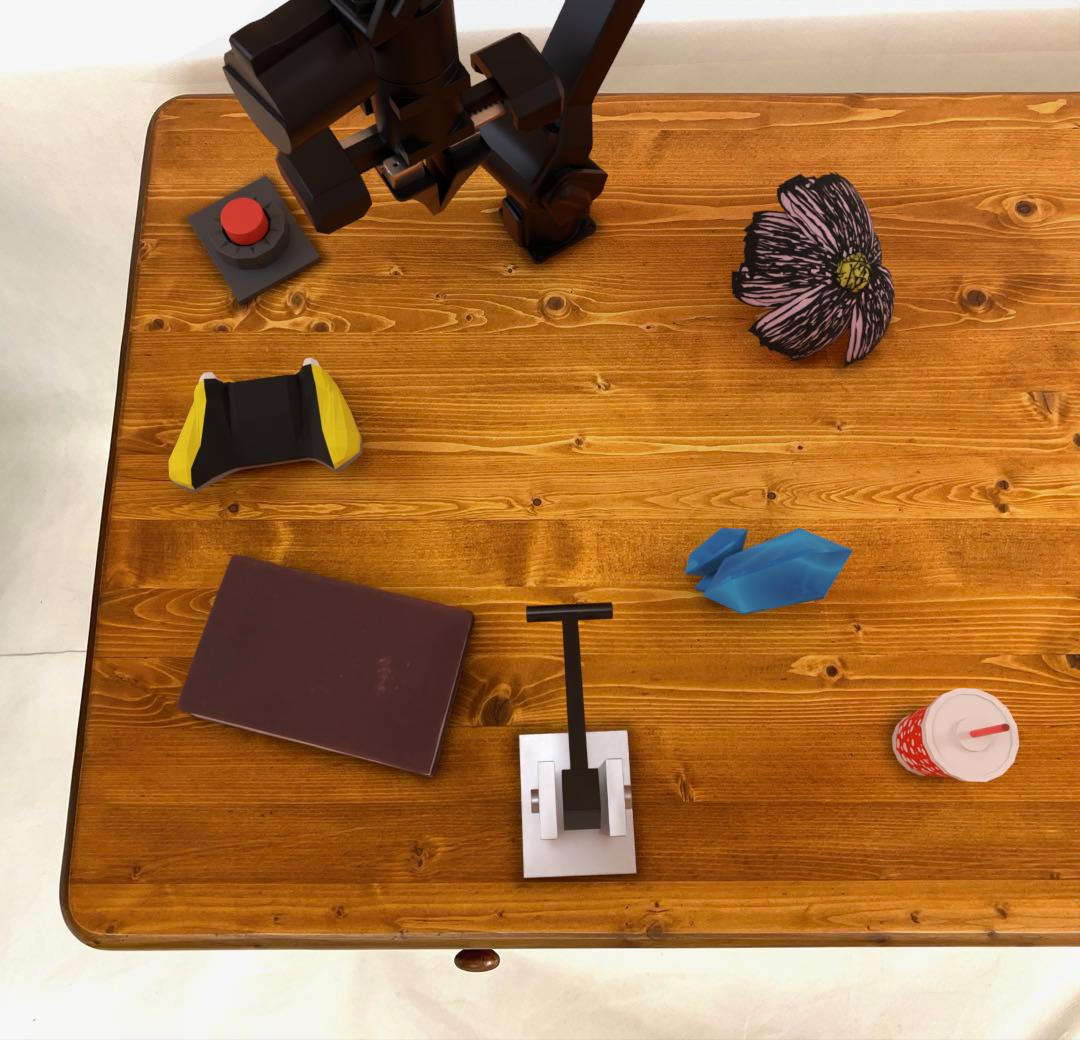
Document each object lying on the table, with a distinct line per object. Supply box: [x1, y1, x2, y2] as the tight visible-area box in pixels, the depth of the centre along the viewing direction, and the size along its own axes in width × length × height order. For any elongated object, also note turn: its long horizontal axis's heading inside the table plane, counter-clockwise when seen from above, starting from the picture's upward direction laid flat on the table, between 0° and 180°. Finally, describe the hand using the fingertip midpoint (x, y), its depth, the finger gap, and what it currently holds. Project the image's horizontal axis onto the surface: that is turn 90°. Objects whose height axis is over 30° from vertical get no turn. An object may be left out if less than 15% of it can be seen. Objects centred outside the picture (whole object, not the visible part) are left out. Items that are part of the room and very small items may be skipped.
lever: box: [525, 601, 614, 830], centre depth 63 cm, size 16×6×2 cm, turn 2°
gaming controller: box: [167, 357, 364, 493], centre depth 78 cm, size 15×6×10 cm
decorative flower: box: [731, 171, 895, 368], centre depth 79 cm, size 14×12×15 cm
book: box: [175, 553, 476, 778], centre depth 74 cm, size 12×19×3 cm, turn 76°
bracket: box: [518, 729, 637, 879], centre depth 64 cm, size 10×8×16 cm
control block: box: [186, 174, 322, 306], centre depth 85 cm, size 10×8×2 cm
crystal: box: [684, 527, 854, 616], centre depth 73 cm, size 7×9×12 cm
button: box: [221, 198, 268, 245], centre depth 83 cm, size 4×4×2 cm
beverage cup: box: [891, 687, 1020, 783], centre depth 66 cm, size 6×6×14 cm
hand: (435, 208), depth 72 cm, fingers closed
